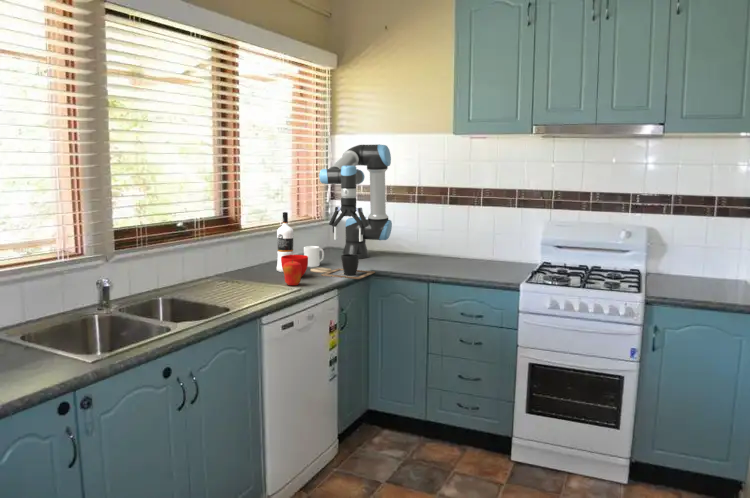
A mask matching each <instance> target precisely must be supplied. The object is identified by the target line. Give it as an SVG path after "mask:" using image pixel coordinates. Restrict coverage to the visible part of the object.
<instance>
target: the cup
mask: <svg viewBox="0 0 750 498" xmlns="http://www.w3.org/2000/svg"><path fill="white" fill-rule="evenodd" d="M320 252H321V253H320ZM303 255H305V256H308V266H307V268H319V267H320V262H322V261H324V258H325V252H324V249H323V248H321V247H320V246H319V245H318V246H316V245H307V246H306V245H305V246H304V247H303ZM320 255H321V257H320Z"/></svg>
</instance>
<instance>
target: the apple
mask: <svg viewBox="0 0 750 498" xmlns="http://www.w3.org/2000/svg"><path fill="white" fill-rule="evenodd" d="M283 271H284V272H283V277H284V283H285V284H286V285H288V286H298V285H299V284H300V283H301V279H302V277H301V271H302V266H301V264H300V263H298V262H295V261H293V259H292V261H289V262H287V263H285V264H284V266H283Z"/></svg>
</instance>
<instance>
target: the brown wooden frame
mask: <svg viewBox="0 0 750 498" xmlns="http://www.w3.org/2000/svg"><path fill="white" fill-rule="evenodd" d="M339 271H343V268H339V267H338V268H336V269H332V271H329V272H325V273H320V276H323V277H331V276H332V277H333V278H342V277H345V278H344V279H353V280H361V279H363V278H366V277H368V276H371V275H373V274H375V273H376V271H373V270H372V271H371V270H362V269H361V270H360V269H357V272H356V275H358V273H364V274H361V275H359V276H352V275H342V274H344V272H342V273H341V274H340V273H337V274H333V273H336V272H339Z"/></svg>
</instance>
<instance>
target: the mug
mask: <svg viewBox="0 0 750 498" xmlns="http://www.w3.org/2000/svg"><path fill="white" fill-rule="evenodd" d="M359 261H360V260H359V255H356V254H345V255H343V254H341V264H342V269H343V270H344V271H343V270H342V271H343V273H345V275H344V276H356V275H357V274H356V273H358V272H357V270H358V268H359Z"/></svg>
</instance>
